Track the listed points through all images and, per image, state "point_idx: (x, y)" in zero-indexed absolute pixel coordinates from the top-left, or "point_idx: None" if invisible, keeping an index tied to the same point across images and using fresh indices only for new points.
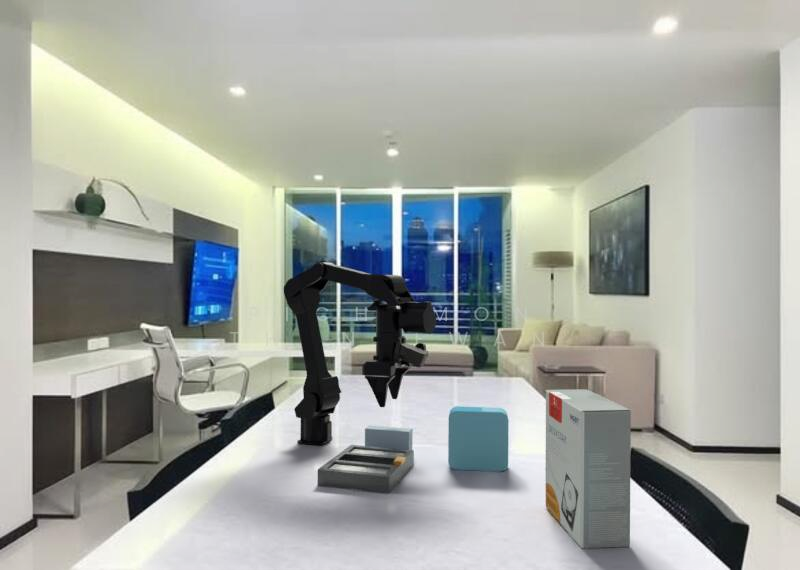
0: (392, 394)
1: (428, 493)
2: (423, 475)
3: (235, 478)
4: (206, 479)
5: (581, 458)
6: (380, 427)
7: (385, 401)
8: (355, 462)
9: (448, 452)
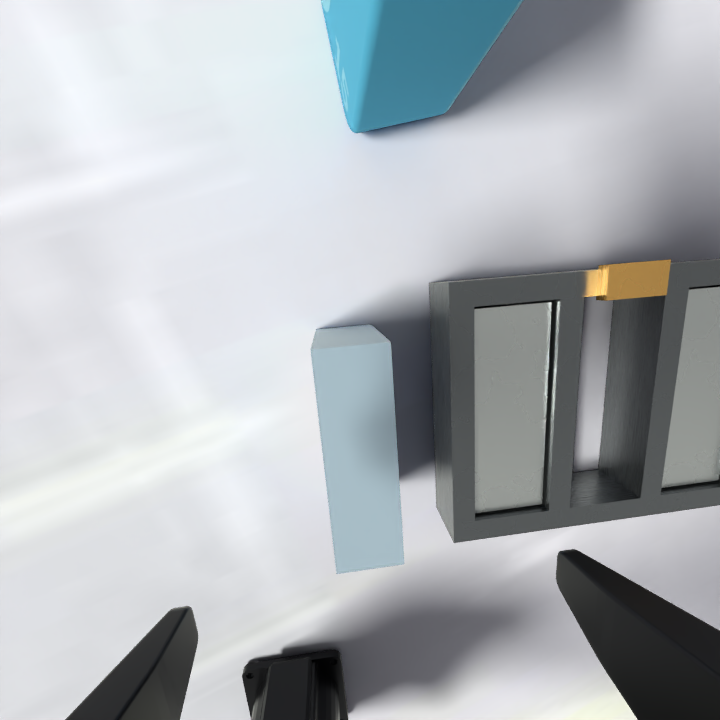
0: (182, 686)
1: (704, 130)
2: (535, 206)
3: None
4: None
5: None
6: (356, 511)
7: (617, 581)
8: (658, 430)
9: (463, 87)
